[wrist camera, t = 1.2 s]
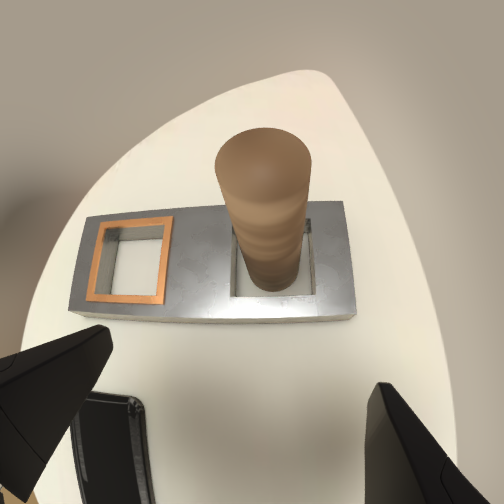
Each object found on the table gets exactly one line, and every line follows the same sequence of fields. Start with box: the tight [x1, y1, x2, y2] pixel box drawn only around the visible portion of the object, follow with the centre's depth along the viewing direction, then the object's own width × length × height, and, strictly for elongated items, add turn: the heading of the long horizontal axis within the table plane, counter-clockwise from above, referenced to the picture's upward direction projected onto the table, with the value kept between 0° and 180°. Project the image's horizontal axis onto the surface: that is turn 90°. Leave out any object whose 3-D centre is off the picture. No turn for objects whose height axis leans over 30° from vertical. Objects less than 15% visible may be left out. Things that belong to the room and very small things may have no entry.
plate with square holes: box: [68, 201, 357, 324], centre depth 23 cm, size 23×9×3 cm, turn 90°
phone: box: [70, 391, 155, 504], centre depth 18 cm, size 8×1×15 cm
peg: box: [215, 128, 311, 292], centre depth 18 cm, size 4×4×13 cm
